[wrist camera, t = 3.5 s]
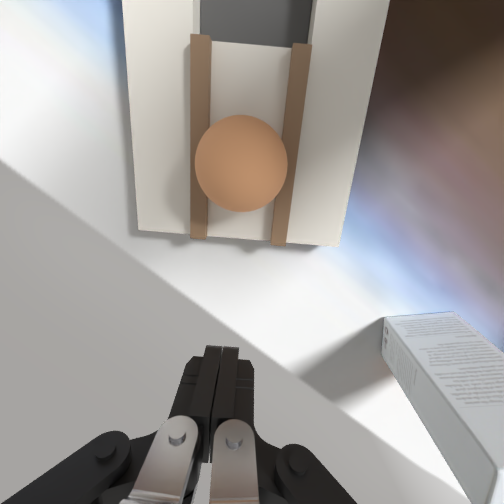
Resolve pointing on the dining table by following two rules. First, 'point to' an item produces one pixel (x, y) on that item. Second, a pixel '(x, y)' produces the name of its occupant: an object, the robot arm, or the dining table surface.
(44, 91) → the dining table surface
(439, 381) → the skincare box
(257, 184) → the ball
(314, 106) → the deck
